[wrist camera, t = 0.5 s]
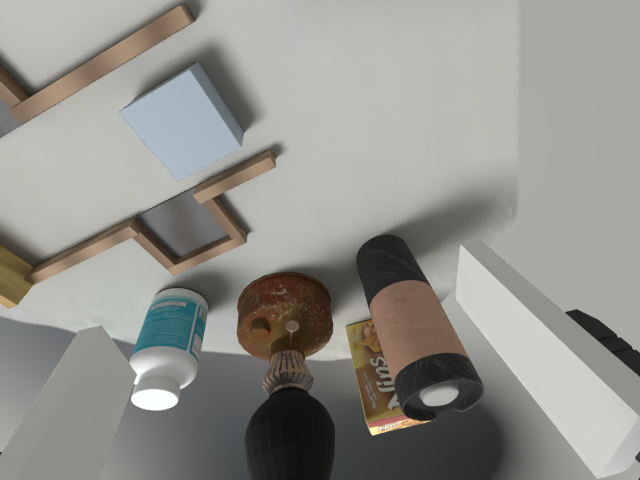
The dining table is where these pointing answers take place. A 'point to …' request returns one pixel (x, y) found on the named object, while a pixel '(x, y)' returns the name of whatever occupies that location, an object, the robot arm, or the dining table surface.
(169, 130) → the slate block
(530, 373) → the robot arm
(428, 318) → the travel mug
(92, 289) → the dining table surface
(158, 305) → the pill bottle
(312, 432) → the oil lamp
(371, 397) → the candy box
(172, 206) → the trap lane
